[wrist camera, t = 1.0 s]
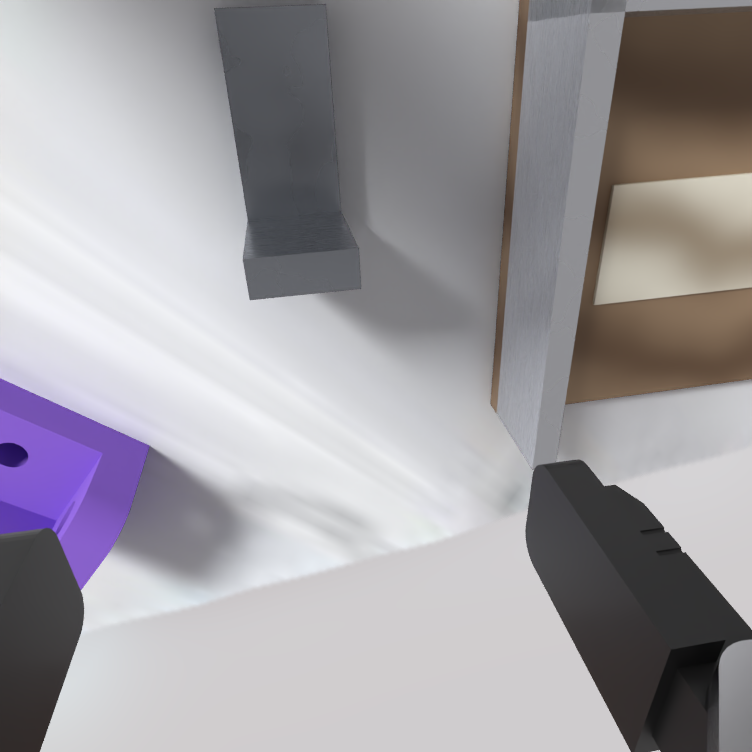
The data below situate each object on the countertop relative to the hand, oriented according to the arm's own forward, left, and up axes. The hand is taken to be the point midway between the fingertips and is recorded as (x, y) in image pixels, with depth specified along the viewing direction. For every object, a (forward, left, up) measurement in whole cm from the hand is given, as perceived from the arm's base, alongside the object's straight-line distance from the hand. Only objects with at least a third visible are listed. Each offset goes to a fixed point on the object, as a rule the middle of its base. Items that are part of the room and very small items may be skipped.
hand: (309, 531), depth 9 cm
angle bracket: (-4, +1, -19) cm, 19 cm away
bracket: (+9, -15, -19) cm, 26 cm away
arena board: (+1, +20, -19) cm, 27 cm away
